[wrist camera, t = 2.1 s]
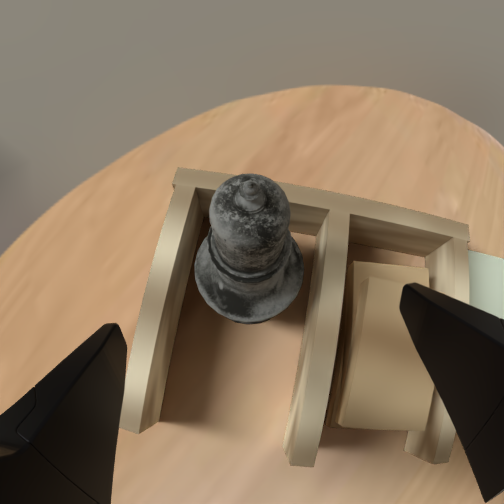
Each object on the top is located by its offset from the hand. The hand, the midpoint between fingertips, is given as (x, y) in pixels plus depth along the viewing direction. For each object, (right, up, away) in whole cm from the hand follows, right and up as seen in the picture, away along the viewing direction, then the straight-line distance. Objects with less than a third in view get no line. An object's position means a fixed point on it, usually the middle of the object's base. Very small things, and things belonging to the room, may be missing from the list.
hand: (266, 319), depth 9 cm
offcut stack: (+8, -5, +10) cm, 13 cm away
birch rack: (+3, -3, +10) cm, 11 cm away
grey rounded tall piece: (-1, 0, +11) cm, 11 cm away
